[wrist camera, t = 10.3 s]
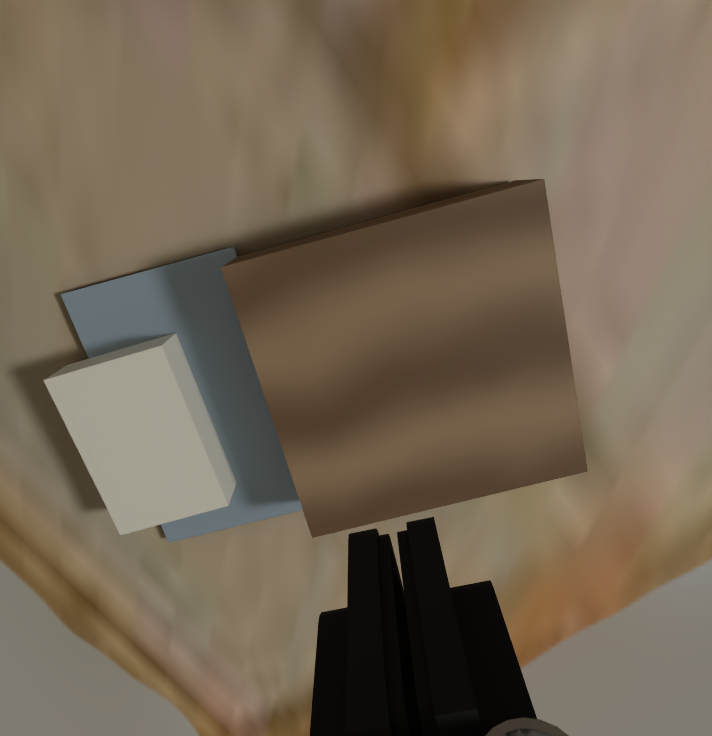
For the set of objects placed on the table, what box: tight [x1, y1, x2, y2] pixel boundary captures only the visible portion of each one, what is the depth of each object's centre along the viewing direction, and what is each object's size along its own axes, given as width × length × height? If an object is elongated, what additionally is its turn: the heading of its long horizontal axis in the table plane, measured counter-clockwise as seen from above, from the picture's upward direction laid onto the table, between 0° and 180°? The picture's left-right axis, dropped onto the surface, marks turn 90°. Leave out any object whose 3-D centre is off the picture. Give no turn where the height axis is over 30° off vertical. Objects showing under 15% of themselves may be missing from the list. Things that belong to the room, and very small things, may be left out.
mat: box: [61, 246, 303, 543], centre depth 30 cm, size 15×9×1 cm, turn 15°
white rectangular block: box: [43, 333, 237, 535], centre depth 29 cm, size 9×6×2 cm, turn 16°
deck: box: [221, 179, 587, 538], centre depth 27 cm, size 14×14×4 cm
